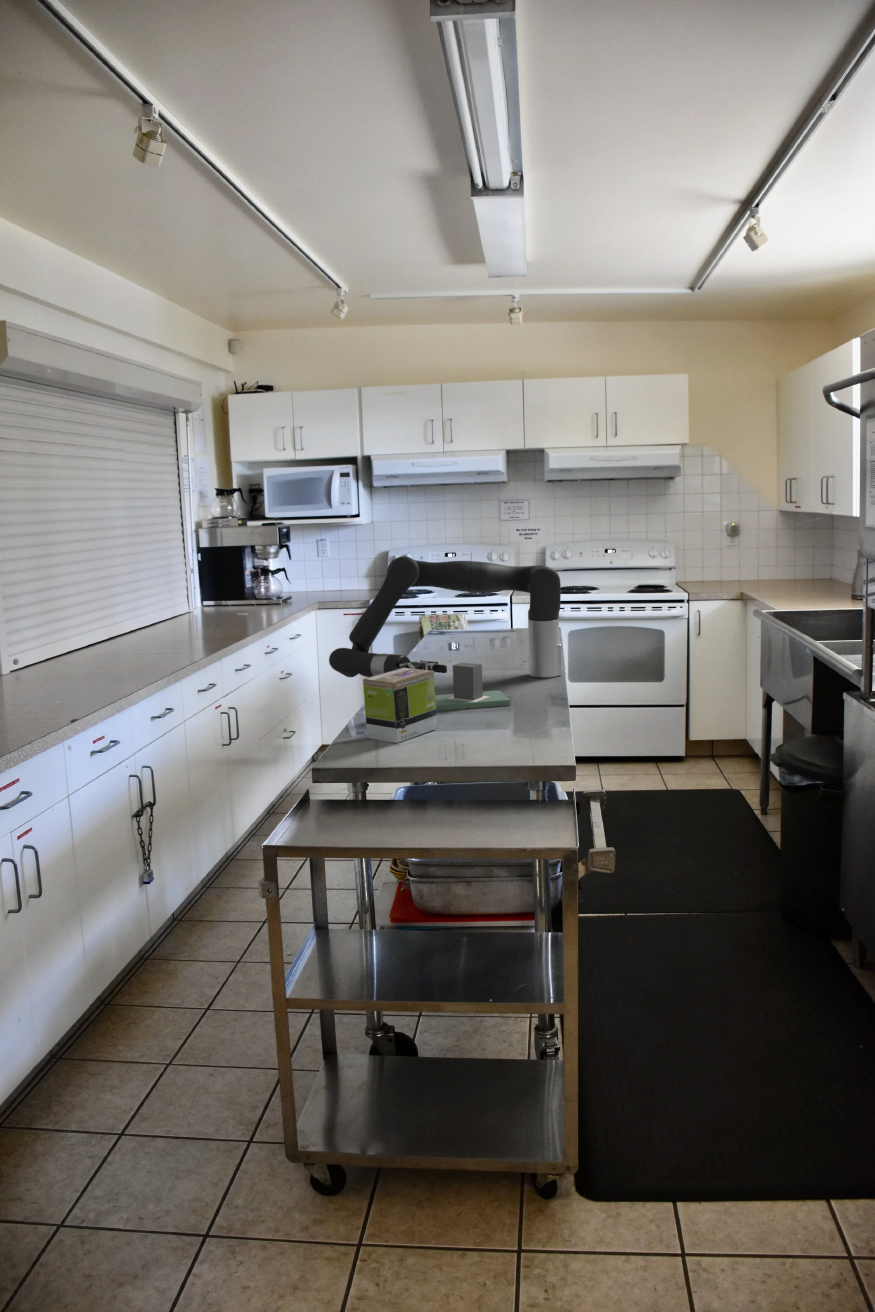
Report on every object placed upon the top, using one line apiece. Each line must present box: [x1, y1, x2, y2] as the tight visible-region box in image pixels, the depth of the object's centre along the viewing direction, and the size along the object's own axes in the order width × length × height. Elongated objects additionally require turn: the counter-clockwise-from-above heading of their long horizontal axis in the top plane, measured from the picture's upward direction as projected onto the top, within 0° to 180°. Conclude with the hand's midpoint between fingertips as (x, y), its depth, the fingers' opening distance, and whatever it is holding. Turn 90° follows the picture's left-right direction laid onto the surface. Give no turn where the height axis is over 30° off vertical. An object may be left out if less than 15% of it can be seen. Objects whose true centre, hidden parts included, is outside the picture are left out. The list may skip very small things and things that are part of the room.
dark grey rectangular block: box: [452, 661, 484, 700], centre depth 253 cm, size 6×4×9 cm
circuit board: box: [435, 690, 511, 712], centre depth 253 cm, size 20×12×4 cm, turn 100°
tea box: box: [362, 668, 438, 744], centre depth 224 cm, size 15×10×15 cm, turn 141°
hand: (437, 671), depth 258 cm, fingers open, 8 cm apart
